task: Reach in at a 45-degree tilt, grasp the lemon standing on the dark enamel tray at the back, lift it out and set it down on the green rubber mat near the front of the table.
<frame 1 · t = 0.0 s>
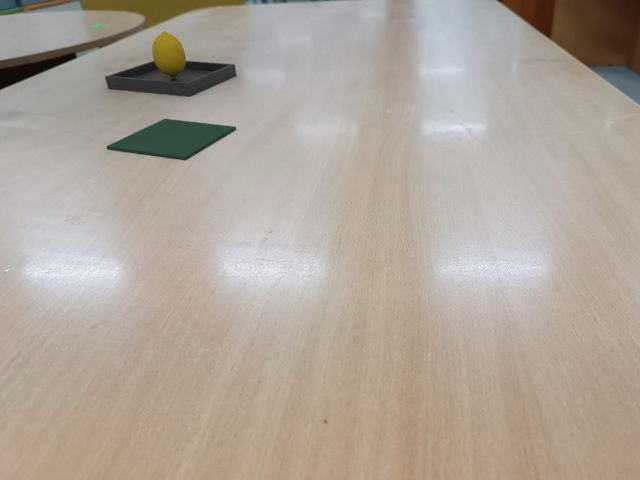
lemon: (174, 79, 94), resting on tray
tray: (174, 81, 95), on the table
mat: (174, 138, 69), on the table
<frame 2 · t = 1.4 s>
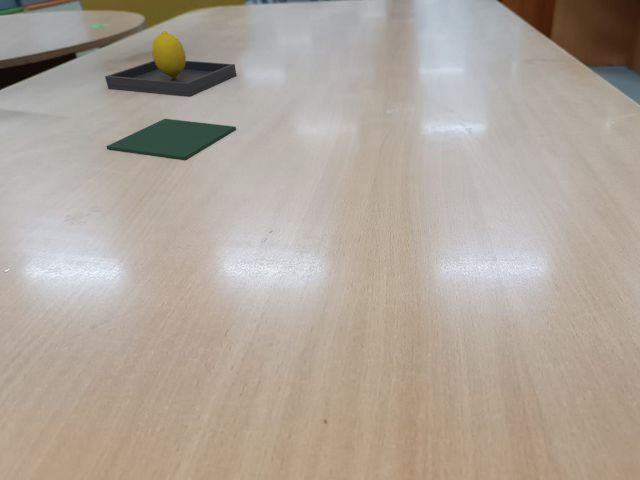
nothing on the table moved.
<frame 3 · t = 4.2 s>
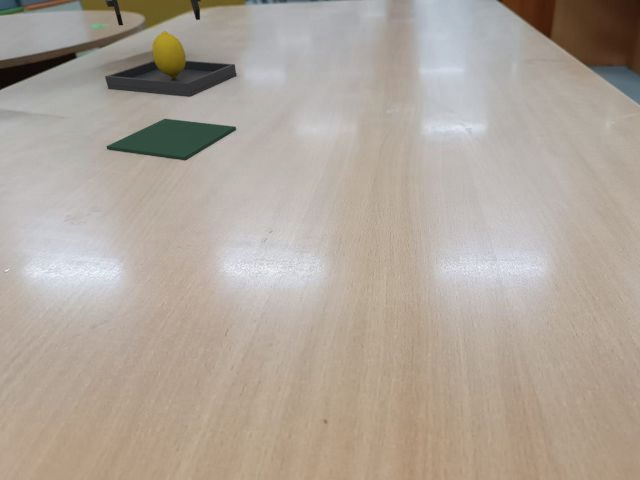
hand: (159, 17, 93), 10 cm above the table, tool tilted 45°, fingers open, 13 cm apart
nothing on the table moved.
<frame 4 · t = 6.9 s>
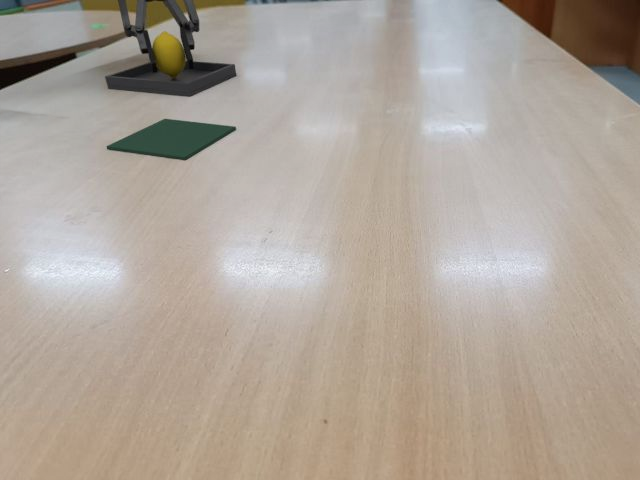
hand: (172, 65, 90), 4 cm above the table, tool tilted 45°, fingers closed on lemon, 5 cm apart
lemon: (174, 79, 94), resting on tray, touching gripper
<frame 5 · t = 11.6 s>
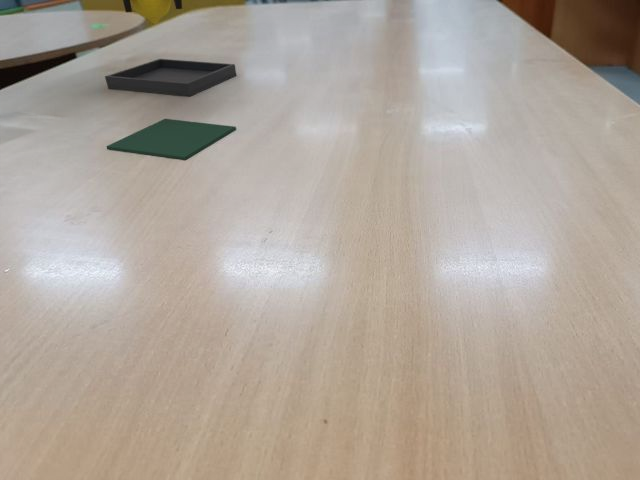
hand: (153, 2, 65), 16 cm above the table, tool tilted 45°, fingers closed on lemon, 5 cm apart
lemon: (156, 25, 70), point 13 cm above the table, touching gripper
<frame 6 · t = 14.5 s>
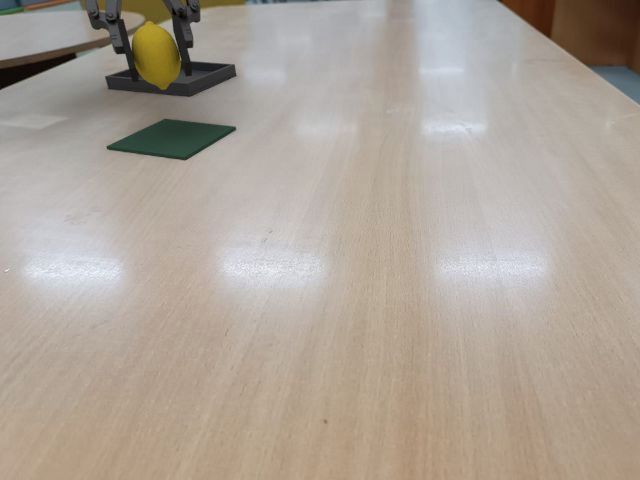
hand: (161, 72, 61), 9 cm above the table, tool tilted 45°, fingers closed on lemon, 5 cm apart
lemon: (164, 91, 66), point 6 cm above the table, touching gripper
when the fingers open (3 cm above the table, at t = 16.5 s): lemon stays where it is, resting on mat.
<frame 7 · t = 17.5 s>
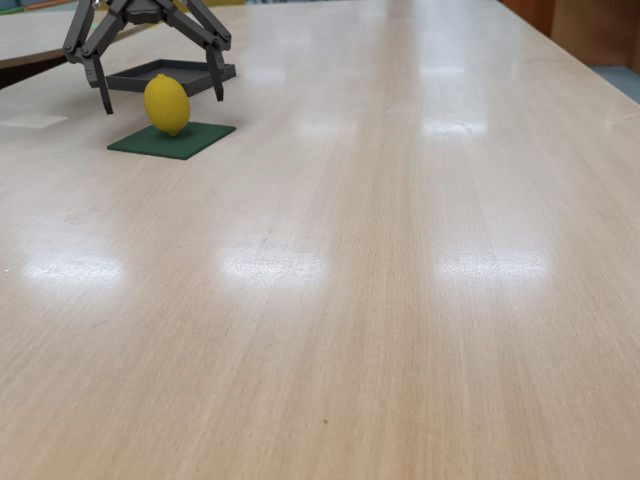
hand: (166, 102, 64), 5 cm above the table, tool tilted 45°, fingers open, 13 cm apart
lemon: (174, 137, 69), resting on mat
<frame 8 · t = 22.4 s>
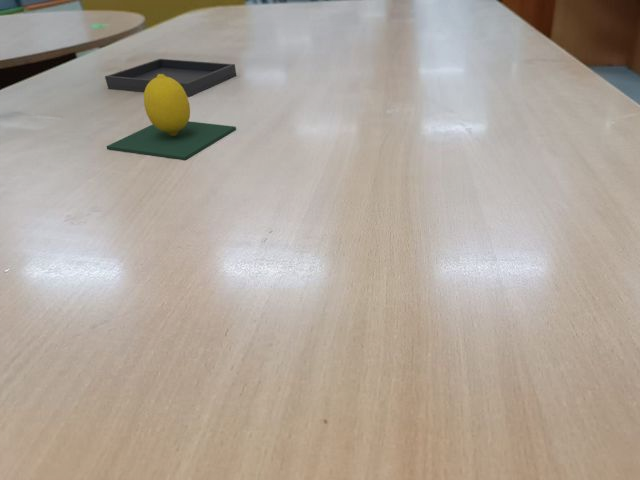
nothing on the table moved.
at the end: lemon inside the target area on the mat (0.0 cm from its centre), point 0.2 cm above the mat's base; the gripper is holding nothing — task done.
